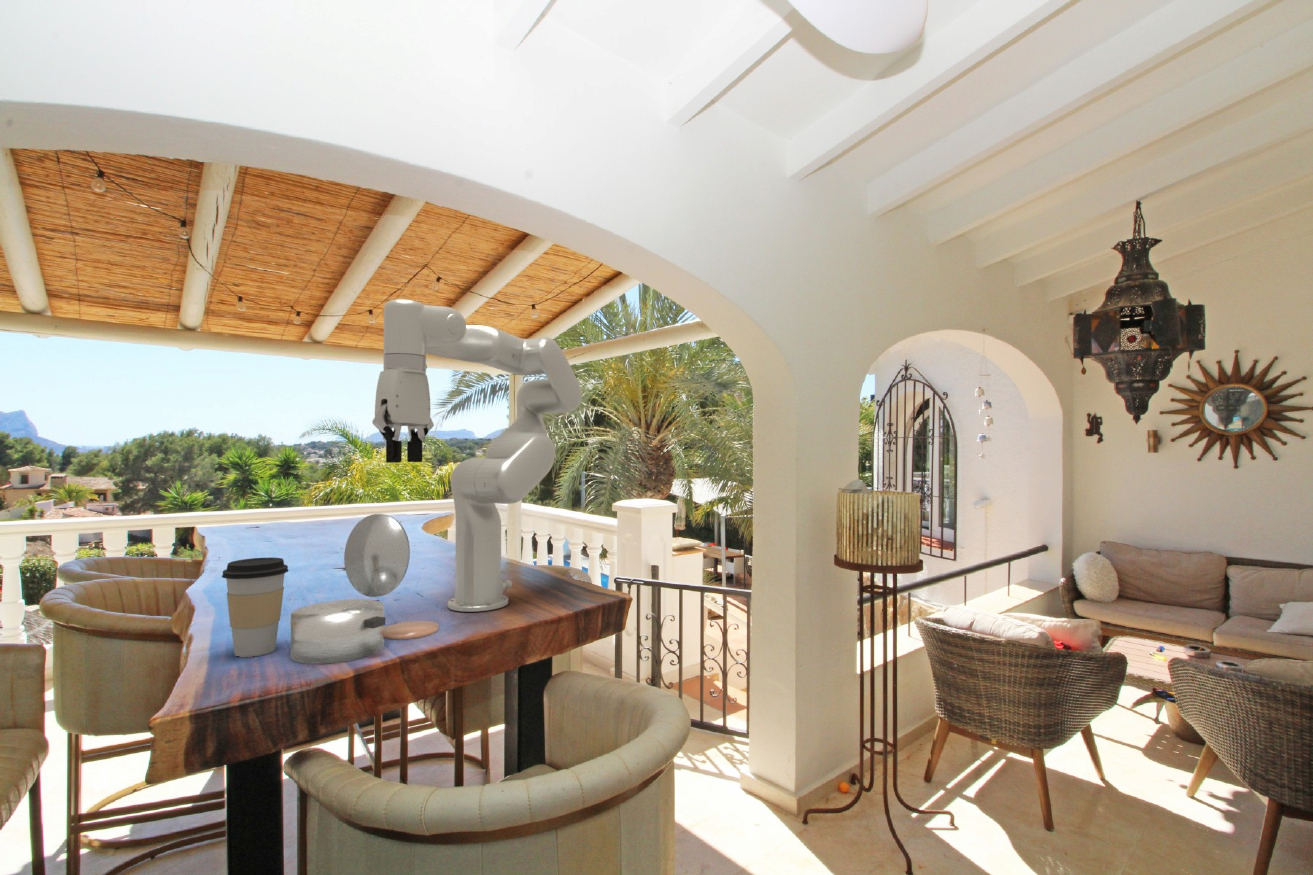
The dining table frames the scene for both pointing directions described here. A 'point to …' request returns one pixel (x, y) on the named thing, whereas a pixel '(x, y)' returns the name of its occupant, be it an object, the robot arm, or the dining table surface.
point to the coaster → (410, 630)
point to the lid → (377, 555)
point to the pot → (337, 631)
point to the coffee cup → (255, 603)
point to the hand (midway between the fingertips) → (404, 461)
